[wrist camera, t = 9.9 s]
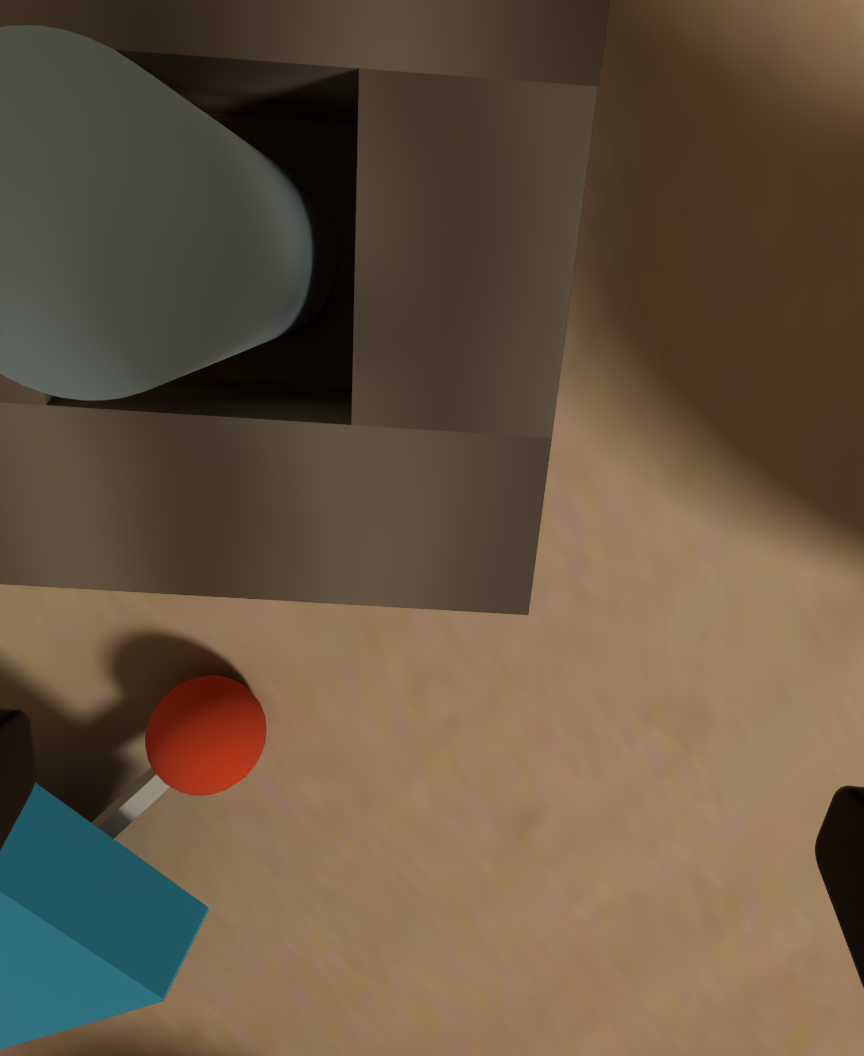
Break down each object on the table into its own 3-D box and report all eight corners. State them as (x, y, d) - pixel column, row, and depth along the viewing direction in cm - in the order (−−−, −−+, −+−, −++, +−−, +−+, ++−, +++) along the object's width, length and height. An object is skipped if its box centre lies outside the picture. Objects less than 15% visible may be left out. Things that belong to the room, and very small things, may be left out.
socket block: (577, -81, 14) (640, -235, 10) (507, 538, 19) (528, 614, 15) (-102, -136, 14) (-344, -321, 9) (10, 508, 19) (-114, 577, 14)
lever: (86, 877, 30) (343, 740, 21) (-38, 1060, 24) (247, 975, 15) (-44, 787, 28) (178, 596, 19) (-211, 961, 22) (-3, 801, 14)
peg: (337, 166, 15) (225, 39, 7) (335, 342, 17) (239, 410, 9) (165, 154, 15) (-155, 11, 7) (178, 332, 17) (-75, 390, 8)
